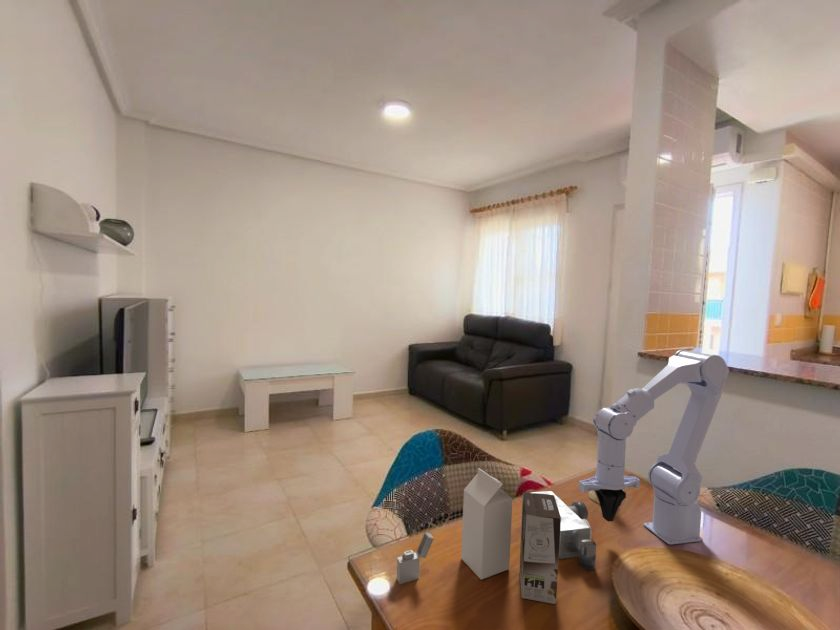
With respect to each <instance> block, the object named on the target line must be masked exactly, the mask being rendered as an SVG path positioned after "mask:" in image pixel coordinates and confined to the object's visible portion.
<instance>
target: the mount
mask: <svg viewBox="0 0 840 630" xmlns="http://www.w3.org/2000/svg"><path fill="white" fill-rule="evenodd" d="M531 493H540V494H549V495H554V497H555V500H556V503H557V507H558V510H559V513H560V516H561V527H560V544H559V559H560V560H562V559H570V558H577V557H579V558H580V543H581V540H582V539H591V538H590V527H589V526H588V525H587V524H586V523H585V522H584V521H583V520H582V519H581V518H579V517H578V516H577V515H576V514H575V513H574V512H573V511H572V510H571V509H570V508H569V506H568V505H567V504H565V502H564V501H562V499H561V498H560V497H558V496H557V495H556V494H555V493H554V492H553V491H552V490H549V491H548V490H547V491H546V490H545V491H535V492H531Z"/></svg>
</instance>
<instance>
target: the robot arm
mask: <svg viewBox="0 0 840 630" xmlns="http://www.w3.org/2000/svg"><path fill="white" fill-rule="evenodd" d="M729 374H730V369H729V367H728V365H727V363H726V361H725V359H724V358H723V357H722V356H720V355H717V354H708V353H704V352H702V353H701V352H697V351H691V350H688V349H679V350H677V351H676V352H675V353H674V354H673V355H672V356H670V357H669V358H668V359H667V365H665V366H664V368H662V369H661V370H660V371H659V372H658V373H657V374H656V375H655V376H653V378H652V379H651V380H650V381H649V382H648V383H647V384H645V386H643V387H642V388H637V387H635V388H631V389H628V390H627V391H626V393H625V394H624V396H622V397H620V398H619V399H618V400H617V401H616V402H613V403H612V404H611V406H610V407H609V406H608V407H602V409H601V408H600V409H599V410H598V411H597V412H596V413H595V414H596V415H595V417H594V418H592V422H593V425H594V427H595V429H596V436H597V439H598V440H597V454H596V455H597V459H596V473H595V476H592V477H589V478H586V479H584V480H579V481H578V490H579V491H581V492H582V493H583V494H589V492H590V491H595V493H596V495H597V497H598V500H599V503H600V504H599V507H600V510H601V515H602V516H601V517H602V518H603V519H604V520H606V522H609V523H610V522H614V519H615V517H616V514H617V511H618V509H619V507H620V506H621V504H622V503H623V502H624V500H625V499H626V498H627V493H626V492H625V491H624V490H623V489H625V488H635V489H639V488H641V479H639V478H638V477H636V476H634V475H631V476H630V475H625V470H626V469H625V467H626V466H625V463H626V448H627V447H626V445H627V444H626V443H627V438H628V437H630V436H631V435H632V433H633V432H634V428H635V426H636V425H637V422H638V421H639V420H641V419H643V417H644V416H646V415H647V414H648V413H649V412H651V411H652V410H653V409H654V408H655V400H657V399H659V398H660V397H661V396H663V395H664V394H666V393H667V392H669V391H670V390H672V389H673V388H674V387H676V386H677V385H679V384H681V383H682V382H683V383H685V385H687V386H688V388H689V391H690V392H691V394H690V396H689V398H688V402H687V403H686V406H685V409H684V411H683V414H682V417H681V420H680V423H679V425H678V428H677V430H676V433H675V435H674V438H673V440H672V442H671V446H670V448H669V450H668V452H667V453H663V454H660V455H658V456H657V458H656V460H655V462H654V463H653V464H652V465H651V466H650V468H649V470H648V472H647V478H648V479H647V480H648V482H649V483H650V484H651V486H652V491H653V492H654V495H653V496H654V497H653V511H652V521H651V522H644V523H643V527H645V528H647V530H649V531H651V532H652V533H653V534H655V535H656V536H657V537H658V538H660V539H661V540H662V541H663V542H665V543H666V544H668V545H679V544H687V543H694V542H702V541H703V537H701V536H700V535H701V522H702V510H701V507H700V504H699V503H698V501H697V500H698V499H699V497H700V496H701V495H700V494H701V483H702V479H703V476H702V474H701V472H700V470H699V469H698V468H697V465H696V462H697V459H698V456H699V453H700V452H701V448H702V446H703V443H704V441H705V438H706V435H707V433H708V430H709V427H710V425H711V423H712V421H713V417H714V415H715V413H716V410H717V408H718V404H719V402H720V399H721V397H722V394H723V393H722V392H723V389H724V386H725V383H726V381H727V378H728V377H729Z"/></svg>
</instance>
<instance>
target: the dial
mask: <svg viewBox="0 0 840 630" xmlns="http://www.w3.org/2000/svg"><path fill="white" fill-rule="evenodd" d="M596 556H597V543H596V542H595V541H594V540H593V538H590V539H582V540H581V543H580V556H579V562H578V563H579V567H580V568H581V569H582V570H584V571H586V572H593V571H595V569H596V558H597V557H596Z"/></svg>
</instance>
